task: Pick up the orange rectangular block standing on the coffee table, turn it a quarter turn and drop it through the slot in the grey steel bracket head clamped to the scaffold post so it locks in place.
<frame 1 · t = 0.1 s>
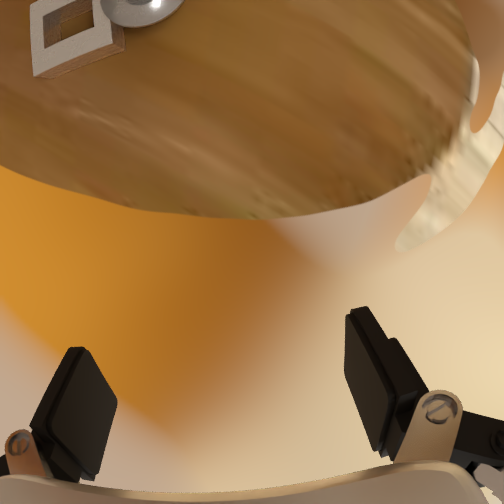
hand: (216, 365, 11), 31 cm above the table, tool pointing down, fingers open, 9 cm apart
bracket head: (83, 29, 29), on the table
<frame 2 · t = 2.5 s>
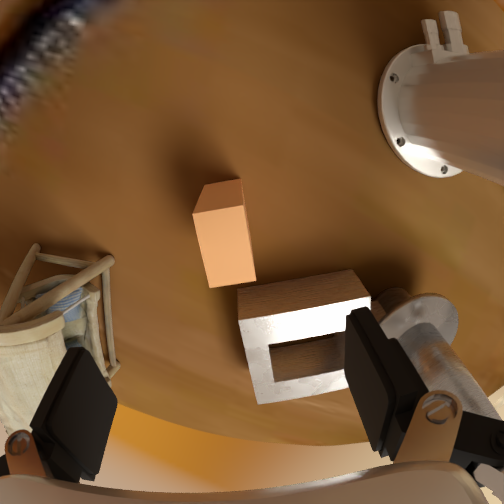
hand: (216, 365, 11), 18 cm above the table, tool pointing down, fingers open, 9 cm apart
bracket head: (300, 325, 32), on the table
orange rectangular block: (227, 210, 27), on the table
swing bench: (77, 307, 30), on the table
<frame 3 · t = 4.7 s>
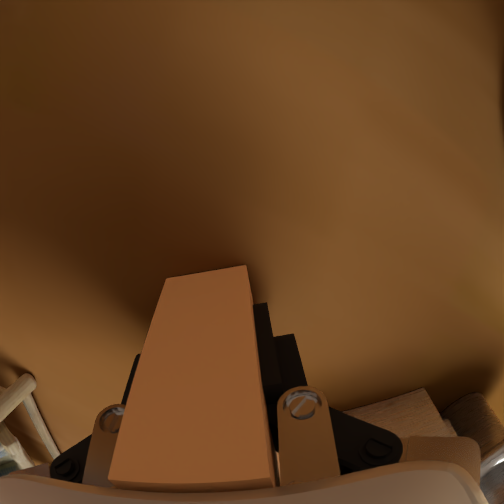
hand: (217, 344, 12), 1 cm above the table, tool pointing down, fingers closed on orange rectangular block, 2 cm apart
bracket head: (333, 456, 18), on the table
orange rectangular block: (219, 326, 13), on the table, touching gripper
swing bench: (12, 418, 16), on the table
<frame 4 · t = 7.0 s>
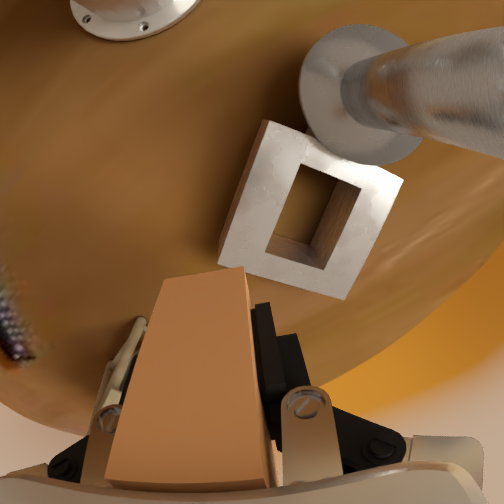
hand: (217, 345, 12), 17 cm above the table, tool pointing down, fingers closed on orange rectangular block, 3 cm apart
bracket head: (299, 201, 27), on the table
orange rectangular block: (217, 326, 13), point 16 cm above the table, touching gripper
swing bench: (175, 368, 35), on the table
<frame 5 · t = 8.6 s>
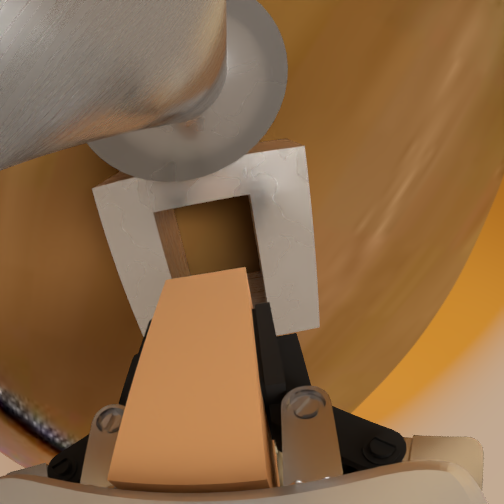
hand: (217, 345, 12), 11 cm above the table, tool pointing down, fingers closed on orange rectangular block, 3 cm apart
bracket head: (216, 232, 22), on the table
orange rectangular block: (218, 327, 13), point 10 cm above the table, touching gripper
when the fingers open (6 cm above the table, at t = 9.7 s): orange rectangular block drops 5 cm, resting in bracket head.
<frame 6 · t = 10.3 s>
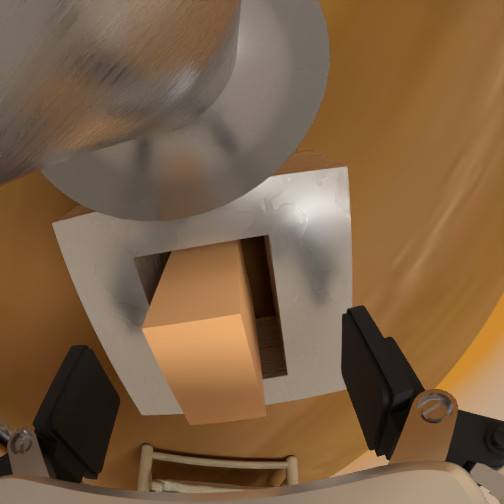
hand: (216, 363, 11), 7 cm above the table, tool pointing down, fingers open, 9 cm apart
bracket head: (221, 269, 17), on the table
orange rectangular block: (218, 270, 17), resting in bracket head
swing bench: (215, 470, 27), on the table
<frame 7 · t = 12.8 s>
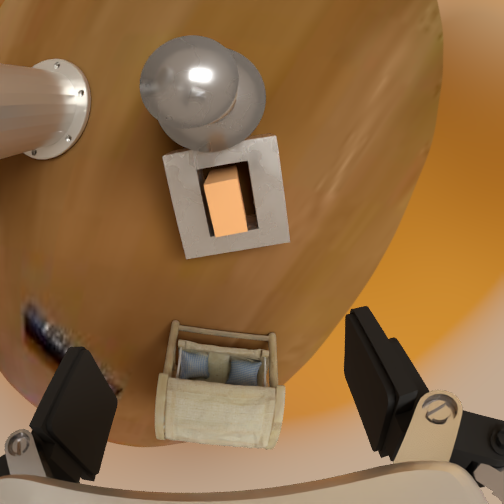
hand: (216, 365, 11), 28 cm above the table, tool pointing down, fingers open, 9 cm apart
bracket head: (228, 188, 36), on the table
orange rectangular block: (227, 189, 36), resting in bracket head
swing bench: (219, 350, 45), on the table
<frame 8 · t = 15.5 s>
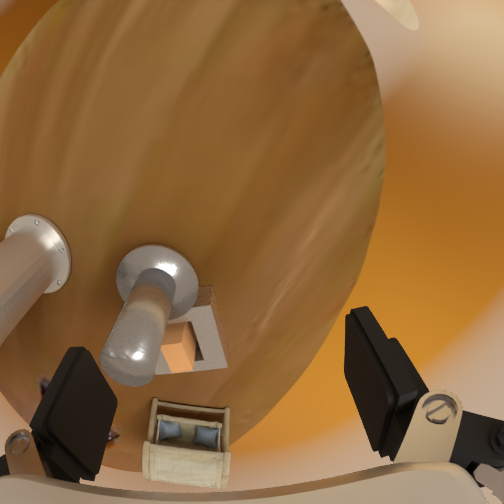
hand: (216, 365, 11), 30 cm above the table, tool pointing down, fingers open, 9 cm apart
bracket head: (184, 322, 46), on the table
orange rectangular block: (183, 322, 46), resting in bracket head
swing bench: (189, 415, 56), on the table
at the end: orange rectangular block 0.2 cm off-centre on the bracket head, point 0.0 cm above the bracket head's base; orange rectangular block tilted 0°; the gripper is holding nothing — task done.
